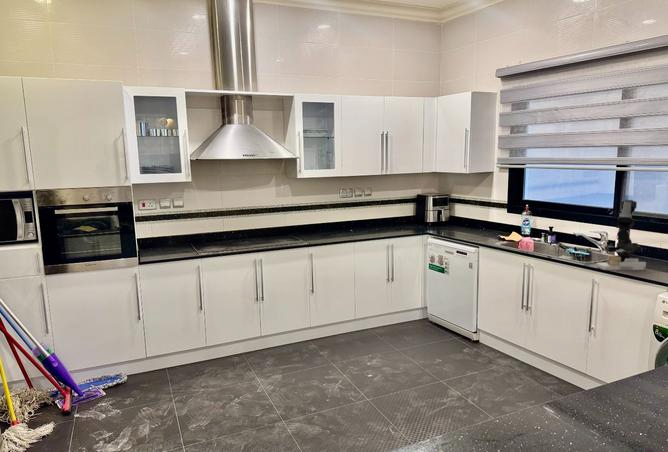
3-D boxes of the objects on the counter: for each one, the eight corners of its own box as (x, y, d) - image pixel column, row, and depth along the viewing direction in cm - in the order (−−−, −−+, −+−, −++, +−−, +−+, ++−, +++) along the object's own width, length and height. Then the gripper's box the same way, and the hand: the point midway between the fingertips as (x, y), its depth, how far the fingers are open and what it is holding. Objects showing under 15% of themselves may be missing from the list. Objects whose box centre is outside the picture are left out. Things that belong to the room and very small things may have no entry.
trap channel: (596, 265, 277) (597, 258, 276) (636, 265, 274) (637, 258, 274) (603, 269, 268) (604, 262, 267) (645, 269, 265) (645, 262, 265)
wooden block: (607, 263, 274) (607, 255, 273) (615, 263, 273) (616, 255, 273) (611, 265, 269) (611, 257, 268) (620, 265, 268) (620, 257, 268)
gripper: (614, 239, 261) (612, 266, 263) (648, 239, 259) (646, 266, 262) (604, 236, 272) (603, 261, 274) (637, 235, 270) (635, 261, 273)
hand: (622, 262), depth 270 cm, fingers closed
